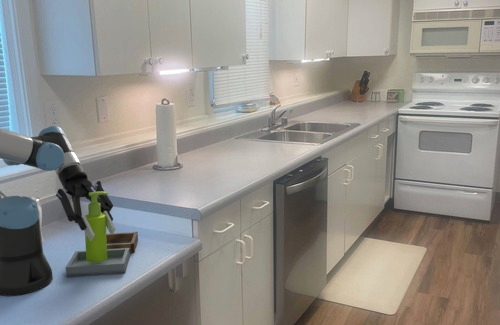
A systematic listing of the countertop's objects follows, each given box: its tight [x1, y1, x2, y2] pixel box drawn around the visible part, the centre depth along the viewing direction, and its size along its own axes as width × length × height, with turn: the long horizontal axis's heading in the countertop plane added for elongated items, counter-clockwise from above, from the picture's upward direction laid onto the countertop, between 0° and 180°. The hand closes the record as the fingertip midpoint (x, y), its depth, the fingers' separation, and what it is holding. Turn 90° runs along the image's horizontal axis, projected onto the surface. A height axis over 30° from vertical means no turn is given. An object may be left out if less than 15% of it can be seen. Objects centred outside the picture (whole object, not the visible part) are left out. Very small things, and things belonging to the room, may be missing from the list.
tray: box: [65, 248, 131, 278], centre depth 144 cm, size 16×12×3 cm
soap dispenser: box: [84, 191, 109, 263], centre depth 142 cm, size 6×7×20 cm
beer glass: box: [28, 196, 45, 243], centre depth 164 cm, size 7×7×15 cm
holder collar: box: [106, 231, 139, 254], centre depth 159 cm, size 12×11×3 cm
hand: (102, 234), depth 140 cm, fingers closed on soap dispenser, 6 cm apart
